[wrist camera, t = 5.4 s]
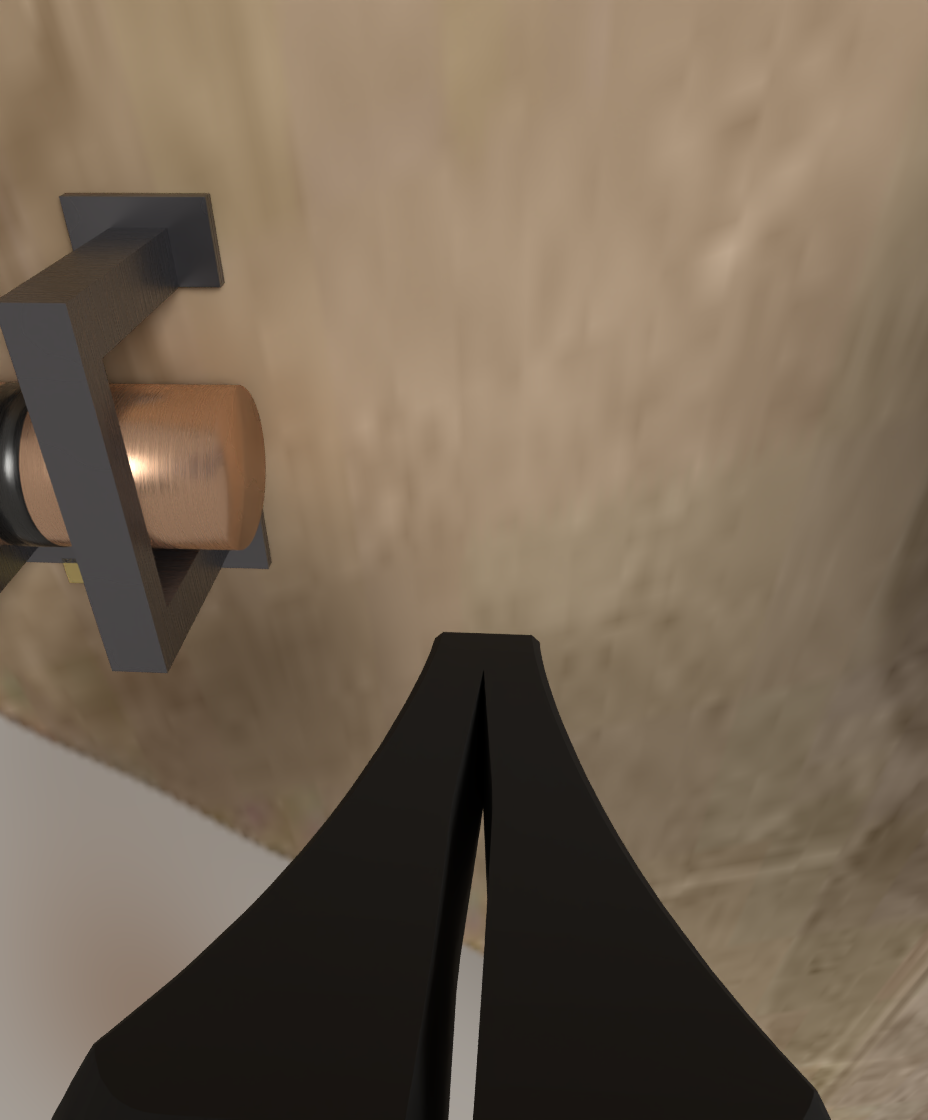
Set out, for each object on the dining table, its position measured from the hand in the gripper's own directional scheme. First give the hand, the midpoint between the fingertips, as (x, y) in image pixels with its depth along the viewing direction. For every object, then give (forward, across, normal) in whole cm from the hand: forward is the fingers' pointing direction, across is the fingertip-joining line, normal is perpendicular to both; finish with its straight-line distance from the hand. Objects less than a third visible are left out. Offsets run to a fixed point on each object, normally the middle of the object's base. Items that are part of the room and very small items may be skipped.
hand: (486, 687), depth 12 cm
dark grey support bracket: (+9, +8, 0) cm, 12 cm away
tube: (+9, +10, 0) cm, 14 cm away
